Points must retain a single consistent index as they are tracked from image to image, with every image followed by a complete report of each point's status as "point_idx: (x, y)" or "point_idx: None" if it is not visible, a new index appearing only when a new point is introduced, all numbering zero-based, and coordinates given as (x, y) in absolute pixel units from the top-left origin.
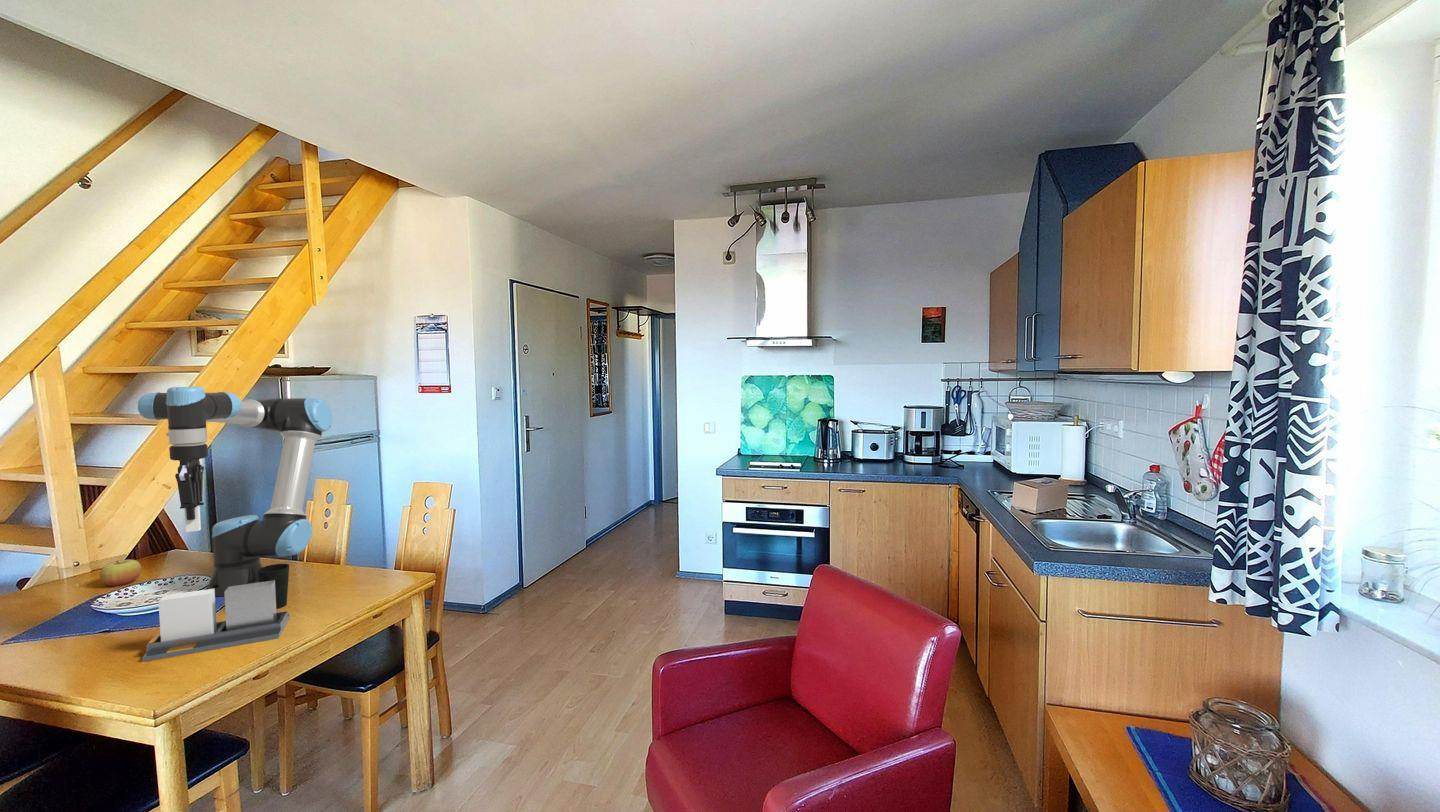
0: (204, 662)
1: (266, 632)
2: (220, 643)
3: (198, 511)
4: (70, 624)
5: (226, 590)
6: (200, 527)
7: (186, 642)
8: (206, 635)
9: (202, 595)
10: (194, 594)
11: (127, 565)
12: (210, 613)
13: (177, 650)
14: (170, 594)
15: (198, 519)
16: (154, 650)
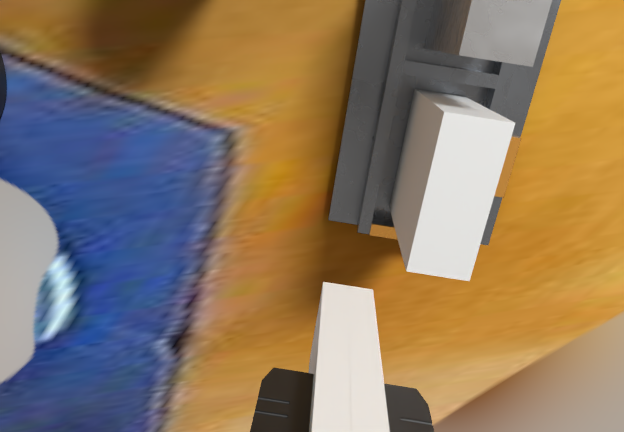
0: (620, 98)
1: None
2: (537, 68)
3: (367, 415)
4: (77, 411)
5: (520, 59)
6: (331, 293)
7: None
8: (500, 110)
9: (507, 147)
10: (479, 176)
11: None
12: (488, 109)
13: (510, 173)
14: (409, 255)
15: (379, 352)
16: None
